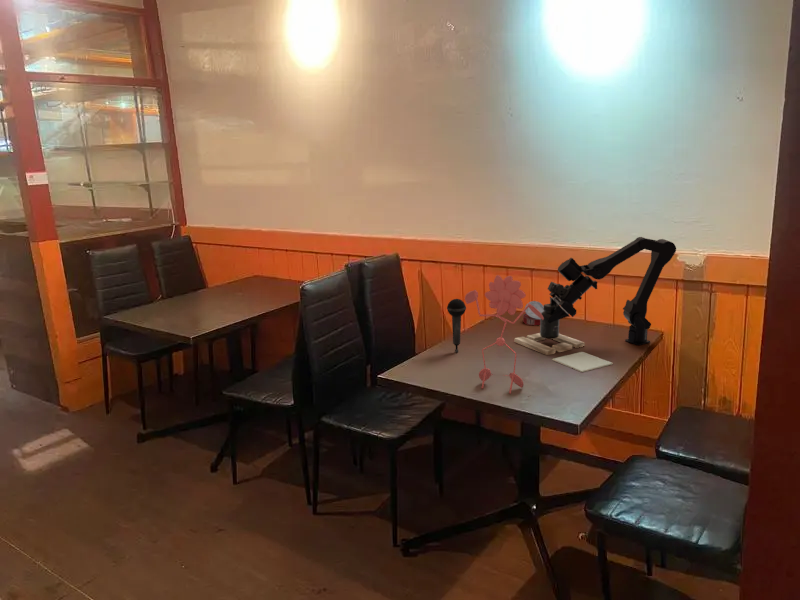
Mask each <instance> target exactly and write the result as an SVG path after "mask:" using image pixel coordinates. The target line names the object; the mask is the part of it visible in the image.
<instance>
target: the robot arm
mask: <svg viewBox="0 0 800 600" xmlns="http://www.w3.org/2000/svg"><path fill="white" fill-rule="evenodd" d="M676 246H677V245H675V243H674V242H672V241H670V240H667V239H664V238H660V239H657V240H656V239H652V238H651V239H650V238H645V237H644V236H639V237H638V236H637V237H636V238H635V239H634V240H632V241H631V242H629V243H627V244H625V245H624V246H622V247H621V248H619V249H618V250H616V251H614V252H613V253H611V254H609V255H607V256H605V257H601V258H597V259H595V260H592V261H590V262H588V263H587V264H584V265H580V264H578V263H577V261H576V260H575V259H574V258H573V257H570V258H568V259H567V260H565V261H563V262H561V264H559V266H558V267H557V271H558V272H559V274H561V275H562V277H564V278H565V279H566V281H568V282H570V281H571V284H569V285H568V284H566V285H565V286H564V284H560V283H555V282H554V281H550V283H549V285H548V287H547V290H548V292H550V293H549V295H550V296H549V304H555V305H556V310H555V312H554V313H553V314H552V315H551V317H550V318H549V319H548V322H549V323H551V322H554V321H556V320H559V321H560V320H562V319H565V318H568V317H570V316H571V317H572V318H573V317H574V316H576V315H577V309H576V308H575V307H574V304H575V303H576V302H577V301H578V300H579V301H581V300H582V299H583V297H582V296H583V295H584V294H585V293H586V292H587V291H588V290H590V288H591V287H592V288H593V289H595V290H598V281H597V280H599V281H600V280H602V279H604V278H605V277H606V276H608V275H609V274H610V273H611V272H612V270H613V269H614V268H615V267H617V266H618V265H620V264H621V263H623V262H625V261H627V260H628V259H630V258H631V257H633V256H635V255H637V254H638V253H640V252H642V251H644V250H646V251H651V252H650V253H651V254H650V263H649V265H648V267H647V269H646V271H645V274H644V275H643V278H642V280H641V282H640V285H639V286H638V288H637V289H638V290H637V292H636V294H635V296H634V297H633V298H632V299H626V302H625V305H624V307H623V308H622V310H623V312H622V313H623V314H622V315H623V316H624V318H625V319H626V320H627V323H628V324H630V325H629V328H628V329H629V330H628V335H627V337H628V338H626V339H624V341H625V342H628V343H631V344H633V345H637V346H641V345H645V344H649V343H651V340H649V339H648V332H649V331H648V330H650V329H651V328H650V327H651V326H652V322H650V321H649V320H648V319H647V318H646V316H647V312H648V301H649V300H650V297H651V295H652V292H653V291H654V289H655V286H656V283H657V282H658V280H659V278H660V275H661V273H662V271H663V268H664V267H665V266H666V265H667V264H668V263H670V261H671V260H672V258H673V257H674V256H675V254H676V251H677V247H676ZM592 278H593V279H595V280H593V279H592Z"/></svg>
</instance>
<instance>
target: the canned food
mask: <svg viewBox="0 0 800 600" xmlns="http://www.w3.org/2000/svg"><path fill="white" fill-rule="evenodd" d="M528 303H530V304H531V305H532V306H534V307H535V308H536V309H537V310H538V311H539V312H540V313H542V312H543V311H544V310H543V308H544V304H542V302H540V301H536V300H532V301H529V302H528ZM528 303H526V305H525V307H524V309H525V308H526V307H527V305H528ZM522 316H523V317H522V319H523V320H522V321H523V322H524V323H525V324H524V323H523V322H522V323H523V324H524V325H527V326H532V325H534V327H536V326H535V325H540V320H541V318H540V317H538V316H537V315H536V314H535V313H533V312H532V311H531V309H530V308H529V307H528V308H527V309H526V311H525V312H524V313H523V314H522Z"/></svg>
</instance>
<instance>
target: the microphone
mask: <svg viewBox="0 0 800 600" xmlns="http://www.w3.org/2000/svg"><path fill="white" fill-rule="evenodd" d="M466 306H467V305H466V303H465V302H464V301H463V300H462V299H459V298H453V299H451V300H449V302H448V304H447V306H446V309H447V313H448V314H449V315H450V316H451V322H452V323H451V326H452V344H453V345H454V346H455V349H454V352H455V353H459V348H458V346H459V345H460V344H461V329H462V316H463V315H464V314H465V312H466V310H467V307H466Z"/></svg>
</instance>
